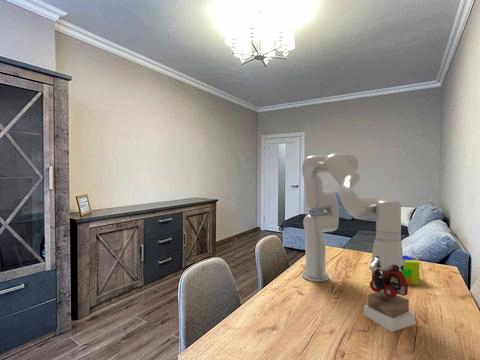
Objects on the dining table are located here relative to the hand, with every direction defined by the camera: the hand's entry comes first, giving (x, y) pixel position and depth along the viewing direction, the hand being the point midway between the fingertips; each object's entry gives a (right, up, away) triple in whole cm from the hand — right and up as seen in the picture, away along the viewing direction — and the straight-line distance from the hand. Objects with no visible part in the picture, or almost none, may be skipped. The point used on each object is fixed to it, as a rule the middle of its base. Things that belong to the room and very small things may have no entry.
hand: (387, 286), depth 92 cm
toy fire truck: (0, -3, 0) cm, 3 cm away
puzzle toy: (+27, -11, +35) cm, 46 cm away
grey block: (0, -12, 0) cm, 12 cm away
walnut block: (0, -8, 0) cm, 8 cm away
